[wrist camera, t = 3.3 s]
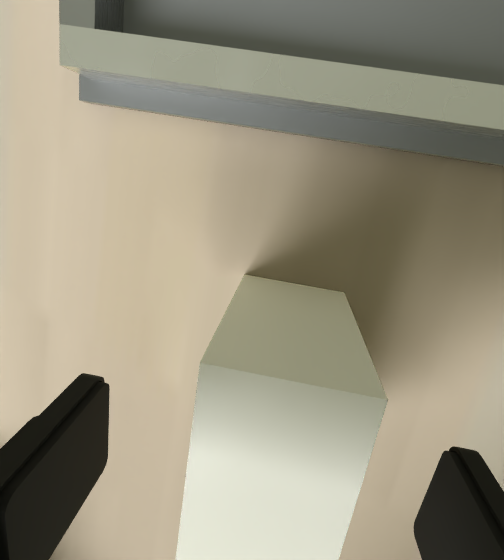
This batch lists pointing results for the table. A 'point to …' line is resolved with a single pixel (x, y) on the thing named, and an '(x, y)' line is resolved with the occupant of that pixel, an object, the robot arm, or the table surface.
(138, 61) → the rail guides
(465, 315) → the table surface
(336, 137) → the plate
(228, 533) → the block
